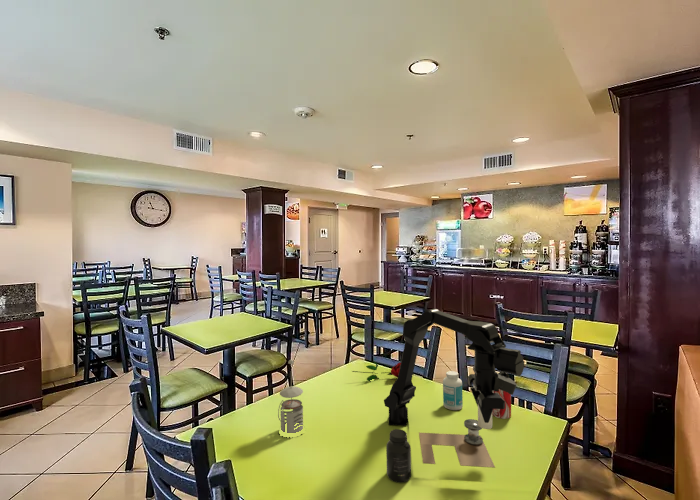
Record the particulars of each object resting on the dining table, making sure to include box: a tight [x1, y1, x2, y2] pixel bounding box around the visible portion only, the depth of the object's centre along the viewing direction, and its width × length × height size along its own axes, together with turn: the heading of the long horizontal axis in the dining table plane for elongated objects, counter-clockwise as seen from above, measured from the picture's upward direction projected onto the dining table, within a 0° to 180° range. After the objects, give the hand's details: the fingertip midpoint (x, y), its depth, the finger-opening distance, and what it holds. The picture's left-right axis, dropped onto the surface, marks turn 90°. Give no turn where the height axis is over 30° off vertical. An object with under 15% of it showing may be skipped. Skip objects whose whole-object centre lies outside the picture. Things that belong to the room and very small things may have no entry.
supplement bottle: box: [385, 428, 412, 484], centre depth 100 cm, size 7×7×12 cm
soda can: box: [492, 389, 512, 420], centre depth 132 cm, size 7×7×12 cm
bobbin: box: [463, 418, 484, 446], centre depth 115 cm, size 6×6×6 cm
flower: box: [351, 361, 401, 382], centre depth 172 cm, size 9×10×30 cm
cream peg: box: [477, 405, 493, 430], centre depth 106 cm, size 4×4×8 cm
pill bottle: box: [442, 370, 464, 411], centre depth 142 cm, size 8×7×14 cm
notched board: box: [418, 432, 496, 468], centre depth 110 cm, size 20×17×2 cm
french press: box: [277, 359, 304, 433], centre depth 124 cm, size 10×12×25 cm
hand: (484, 418), depth 106 cm, fingers closed on cream peg, 4 cm apart
